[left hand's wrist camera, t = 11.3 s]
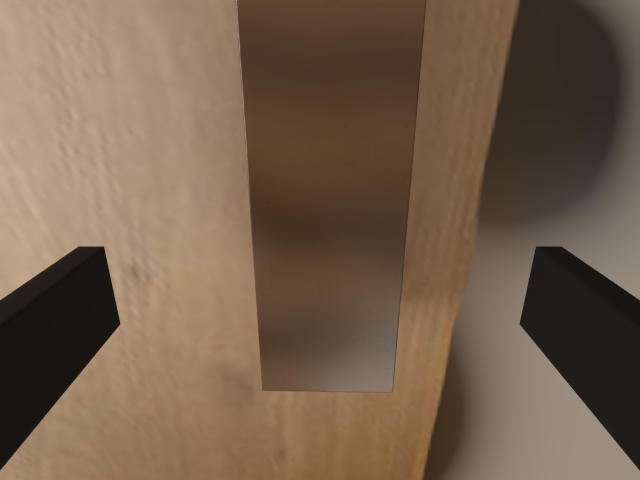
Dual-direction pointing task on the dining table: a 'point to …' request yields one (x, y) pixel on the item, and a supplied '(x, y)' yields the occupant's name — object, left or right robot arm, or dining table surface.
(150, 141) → the dining table surface
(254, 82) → the beam
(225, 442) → the dining table surface
